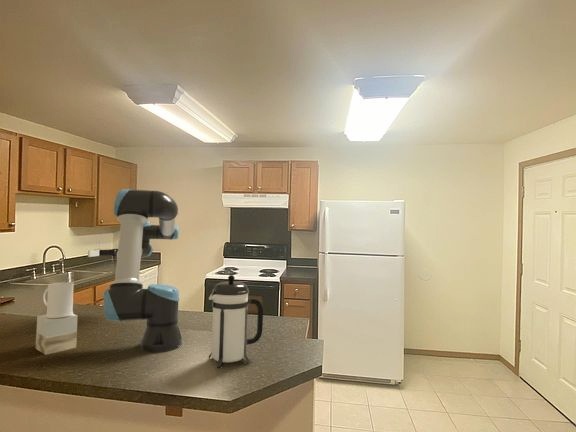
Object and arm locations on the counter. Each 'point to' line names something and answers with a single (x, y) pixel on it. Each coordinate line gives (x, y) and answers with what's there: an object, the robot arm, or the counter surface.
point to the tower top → (56, 325)
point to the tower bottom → (55, 342)
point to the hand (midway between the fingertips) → (102, 254)
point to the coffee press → (232, 321)
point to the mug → (59, 300)
